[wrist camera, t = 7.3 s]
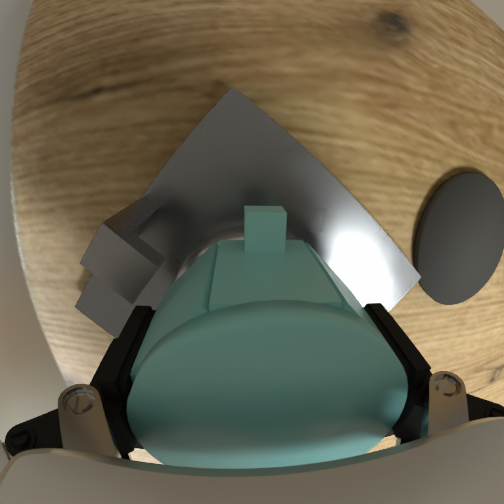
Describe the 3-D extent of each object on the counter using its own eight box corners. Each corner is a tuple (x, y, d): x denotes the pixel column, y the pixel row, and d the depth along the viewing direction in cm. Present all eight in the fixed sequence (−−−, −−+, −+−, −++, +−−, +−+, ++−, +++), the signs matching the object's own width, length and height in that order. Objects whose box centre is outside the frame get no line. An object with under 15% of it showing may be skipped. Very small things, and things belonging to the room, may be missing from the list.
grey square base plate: (83, 296, 14) (20, 378, 8) (232, 91, 11) (231, 32, 5) (258, 405, 18) (267, 494, 11) (410, 268, 15) (488, 337, 8)
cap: (151, 206, 9) (75, 266, 4) (367, 208, 10) (460, 263, 5) (180, 404, 13) (166, 492, 8) (328, 400, 13) (355, 483, 8)
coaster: (470, 143, 12) (477, 144, 12) (512, 235, 15) (517, 237, 14) (388, 247, 14) (393, 251, 14) (446, 321, 16) (450, 325, 16)
